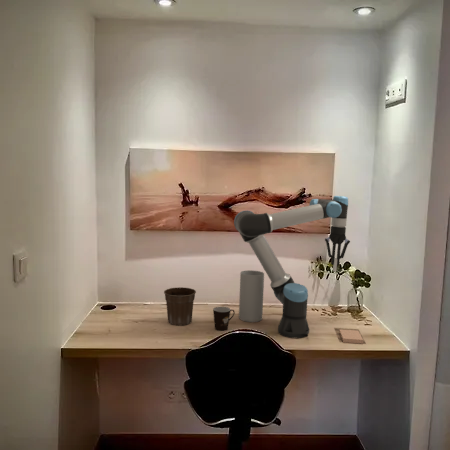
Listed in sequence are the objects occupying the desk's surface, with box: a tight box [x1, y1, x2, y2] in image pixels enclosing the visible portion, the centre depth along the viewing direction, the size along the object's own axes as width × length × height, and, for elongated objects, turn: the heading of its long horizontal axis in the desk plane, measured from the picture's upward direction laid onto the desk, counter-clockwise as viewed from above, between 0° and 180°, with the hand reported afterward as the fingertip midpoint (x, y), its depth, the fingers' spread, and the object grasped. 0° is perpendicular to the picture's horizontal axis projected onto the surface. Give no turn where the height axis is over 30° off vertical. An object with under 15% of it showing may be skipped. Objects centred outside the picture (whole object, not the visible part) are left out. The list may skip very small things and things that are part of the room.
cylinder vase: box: [238, 270, 265, 323], centre depth 241 cm, size 12×12×25 cm
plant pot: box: [163, 287, 197, 326], centre depth 232 cm, size 16×16×16 cm
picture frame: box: [339, 329, 364, 345], centre depth 215 cm, size 2×9×12 cm
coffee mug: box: [212, 306, 236, 332], centre depth 225 cm, size 12×9×10 cm
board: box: [333, 327, 367, 345], centre depth 219 cm, size 19×12×1 cm, turn 174°
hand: (334, 270), depth 236 cm, fingers closed
